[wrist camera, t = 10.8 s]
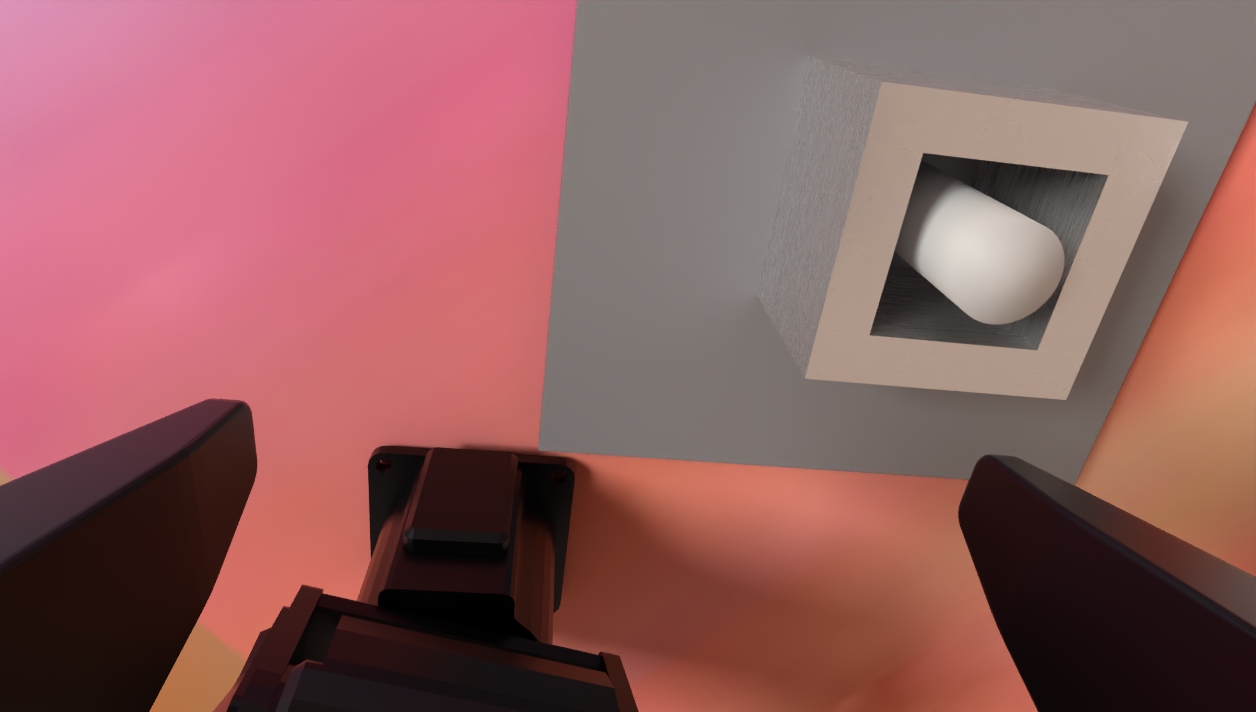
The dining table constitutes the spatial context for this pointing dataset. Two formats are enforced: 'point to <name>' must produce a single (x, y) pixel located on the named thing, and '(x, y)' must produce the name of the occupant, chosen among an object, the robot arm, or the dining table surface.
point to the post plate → (720, 195)
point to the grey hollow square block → (1006, 171)
